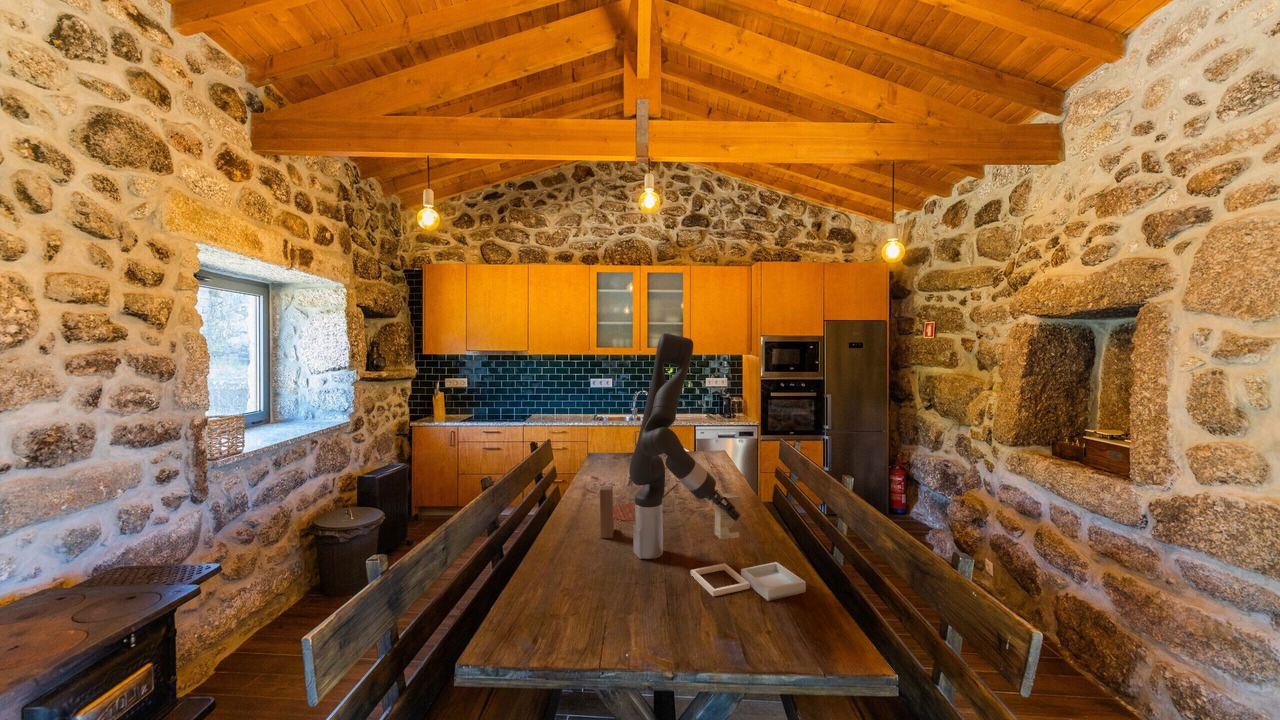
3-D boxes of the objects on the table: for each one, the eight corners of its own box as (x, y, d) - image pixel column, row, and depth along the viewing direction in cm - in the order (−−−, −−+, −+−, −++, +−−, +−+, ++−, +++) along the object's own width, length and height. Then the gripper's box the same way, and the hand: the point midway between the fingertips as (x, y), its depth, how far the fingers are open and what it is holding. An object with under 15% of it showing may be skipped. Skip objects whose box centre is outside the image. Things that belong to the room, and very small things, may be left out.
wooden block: (602, 529, 191) (601, 482, 190) (613, 529, 191) (613, 482, 190) (600, 538, 182) (599, 489, 181) (612, 538, 182) (612, 489, 181)
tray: (768, 600, 137) (768, 590, 137) (741, 579, 150) (741, 569, 150) (805, 592, 142) (805, 581, 141) (776, 571, 154) (776, 561, 154)
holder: (713, 596, 140) (713, 591, 140) (690, 574, 153) (690, 569, 153) (749, 588, 144) (749, 583, 144) (724, 567, 157) (724, 563, 157)
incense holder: (604, 507, 217) (604, 481, 217) (671, 501, 223) (671, 477, 222) (611, 524, 196) (610, 496, 196) (684, 518, 202) (684, 491, 202)
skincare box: (720, 539, 144) (720, 498, 144) (714, 534, 148) (714, 493, 148) (740, 537, 146) (740, 496, 145) (734, 531, 150) (734, 491, 150)
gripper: (716, 475, 137) (754, 513, 142) (693, 463, 150) (728, 498, 155) (699, 496, 135) (738, 534, 140) (677, 482, 149) (713, 517, 153)
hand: (732, 515), depth 148 cm, fingers closed on skincare box, 4 cm apart
